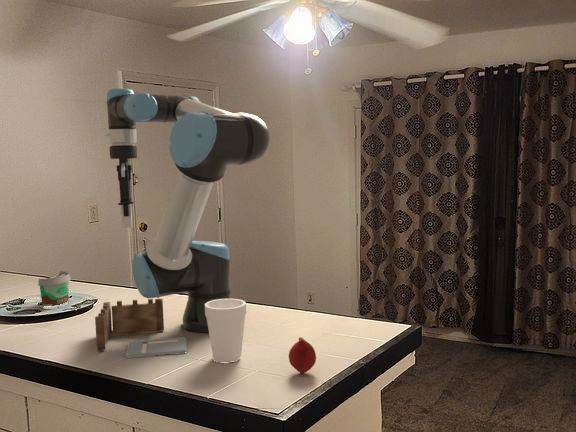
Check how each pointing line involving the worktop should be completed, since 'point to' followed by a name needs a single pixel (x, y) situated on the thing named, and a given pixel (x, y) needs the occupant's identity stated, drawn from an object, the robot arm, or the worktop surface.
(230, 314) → the foam cup
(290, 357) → the onion
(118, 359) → the worktop surface
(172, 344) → the card
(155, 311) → the fence fixed panel
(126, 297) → the worktop surface
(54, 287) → the food container
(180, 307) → the worktop surface
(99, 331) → the fence hinged panel
